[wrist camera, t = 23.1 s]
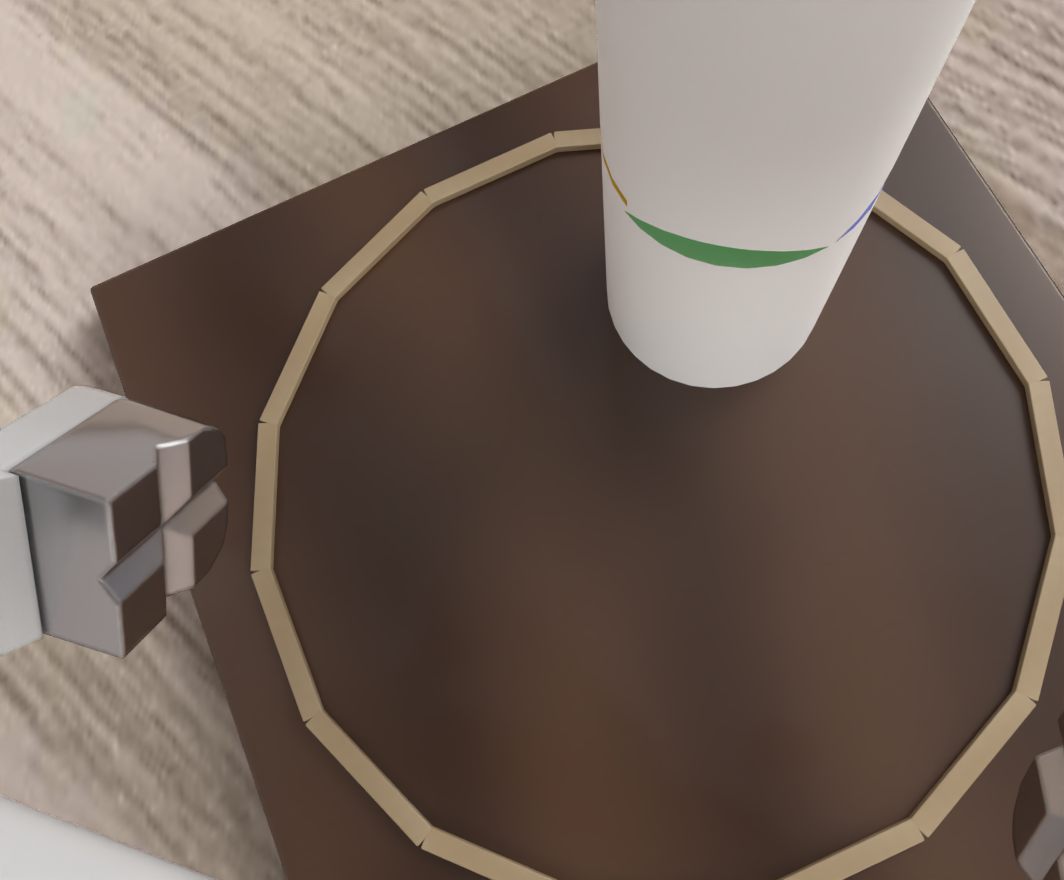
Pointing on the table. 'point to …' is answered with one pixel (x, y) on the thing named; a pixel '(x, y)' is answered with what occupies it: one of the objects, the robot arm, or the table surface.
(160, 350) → the board
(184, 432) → the robot arm
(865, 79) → the tube
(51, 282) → the table surface
